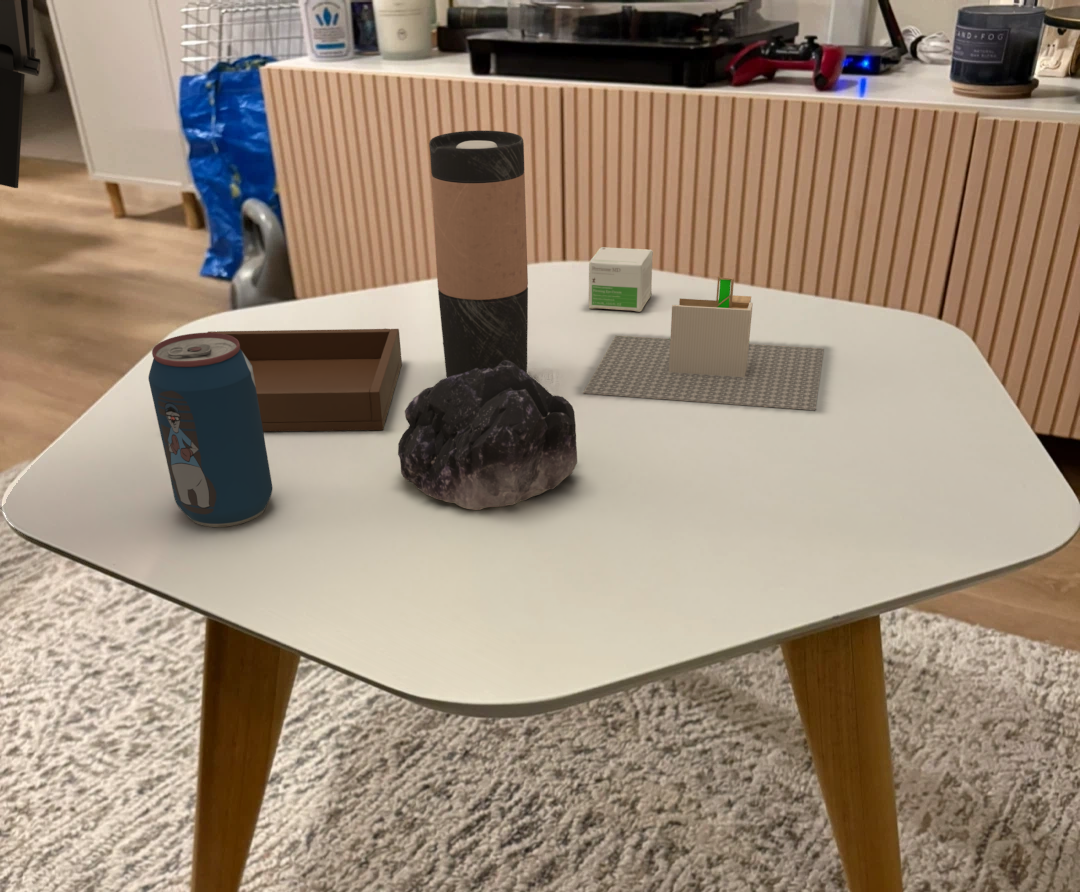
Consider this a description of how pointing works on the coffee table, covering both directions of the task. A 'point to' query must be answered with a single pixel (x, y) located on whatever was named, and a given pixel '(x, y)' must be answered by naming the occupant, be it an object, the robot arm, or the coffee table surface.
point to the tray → (322, 377)
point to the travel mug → (480, 248)
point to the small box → (620, 278)
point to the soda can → (211, 428)
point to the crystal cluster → (488, 438)
